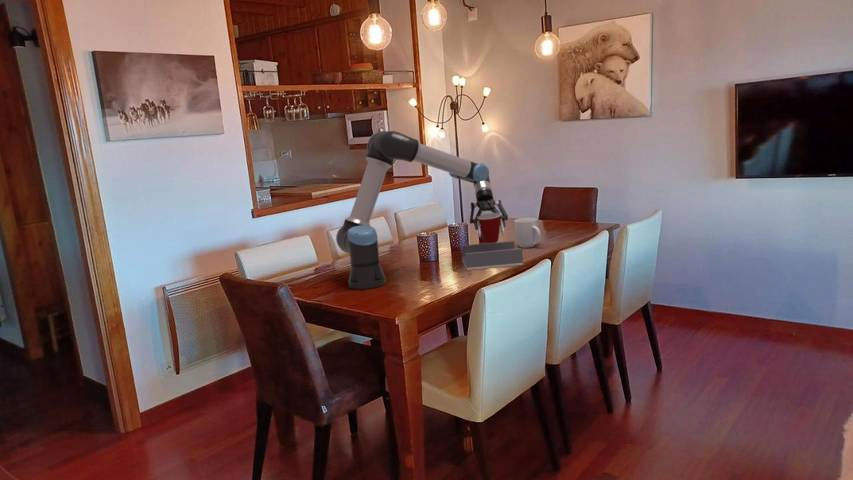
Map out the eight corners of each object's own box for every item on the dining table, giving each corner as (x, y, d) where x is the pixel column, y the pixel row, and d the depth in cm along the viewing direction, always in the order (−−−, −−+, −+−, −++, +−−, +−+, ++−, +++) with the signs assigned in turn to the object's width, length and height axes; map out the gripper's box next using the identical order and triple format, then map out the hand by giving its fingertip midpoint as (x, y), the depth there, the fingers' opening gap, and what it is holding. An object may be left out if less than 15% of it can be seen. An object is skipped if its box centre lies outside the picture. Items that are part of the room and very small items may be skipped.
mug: (549, 246, 280) (548, 219, 277) (532, 251, 274) (530, 223, 271) (527, 243, 292) (526, 217, 290) (510, 247, 286) (509, 220, 284)
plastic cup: (474, 241, 260) (473, 214, 258) (497, 238, 263) (495, 211, 261) (484, 245, 250) (482, 218, 248) (507, 242, 253) (505, 214, 251)
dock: (467, 270, 249) (465, 254, 248) (462, 260, 267) (461, 245, 266) (523, 264, 250) (522, 248, 249) (514, 255, 268) (513, 240, 266)
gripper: (507, 196, 269) (516, 236, 256) (459, 200, 268) (465, 241, 256) (508, 185, 263) (517, 226, 250) (459, 190, 262) (466, 231, 249)
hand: (491, 233), depth 253 cm, fingers closed on plastic cup, 9 cm apart
